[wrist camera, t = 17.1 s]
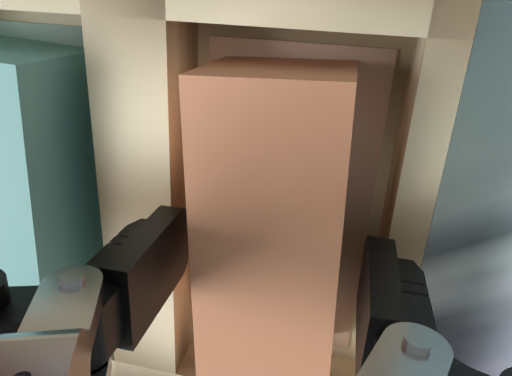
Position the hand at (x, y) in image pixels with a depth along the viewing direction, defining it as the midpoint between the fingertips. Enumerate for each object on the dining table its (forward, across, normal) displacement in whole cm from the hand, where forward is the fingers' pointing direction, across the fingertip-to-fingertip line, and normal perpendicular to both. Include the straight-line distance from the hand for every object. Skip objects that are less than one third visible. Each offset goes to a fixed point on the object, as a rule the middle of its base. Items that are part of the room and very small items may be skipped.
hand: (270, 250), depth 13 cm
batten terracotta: (+3, 0, 0) cm, 3 cm away
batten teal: (+3, +9, 0) cm, 9 cm away
